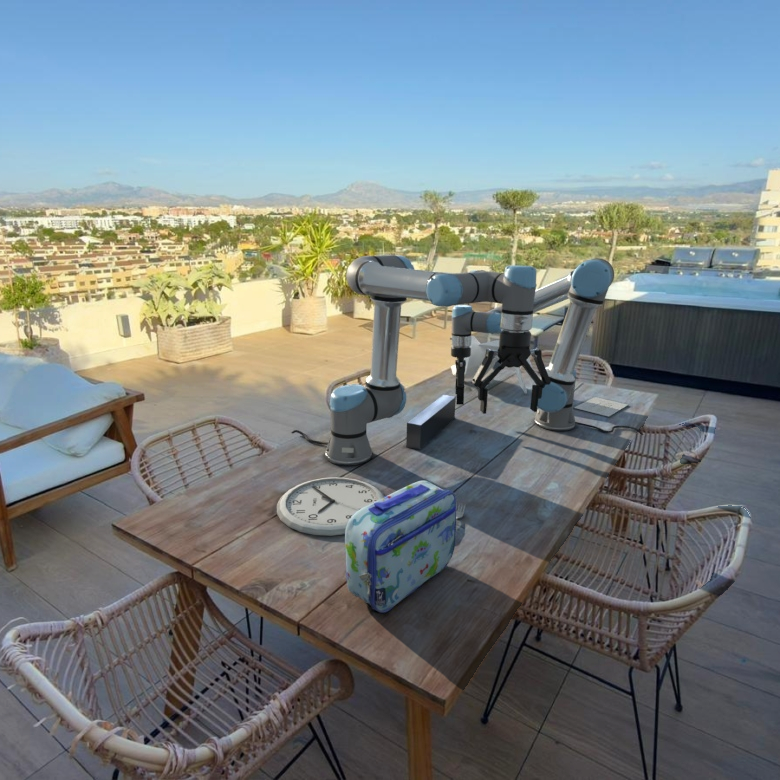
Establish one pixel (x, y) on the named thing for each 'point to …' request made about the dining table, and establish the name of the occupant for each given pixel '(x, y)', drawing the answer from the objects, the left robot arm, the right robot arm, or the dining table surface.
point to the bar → (430, 422)
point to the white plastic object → (477, 358)
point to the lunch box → (399, 543)
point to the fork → (459, 514)
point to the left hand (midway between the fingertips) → (508, 411)
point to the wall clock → (325, 504)
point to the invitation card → (601, 406)
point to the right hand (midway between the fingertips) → (459, 398)
